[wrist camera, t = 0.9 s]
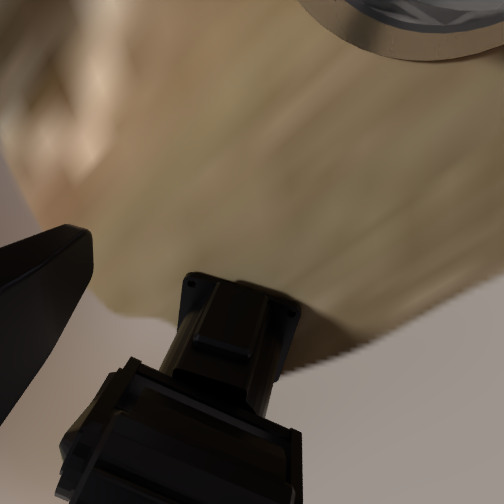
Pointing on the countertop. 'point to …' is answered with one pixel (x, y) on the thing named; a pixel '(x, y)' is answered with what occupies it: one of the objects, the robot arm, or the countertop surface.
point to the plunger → (467, 4)
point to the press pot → (409, 27)
